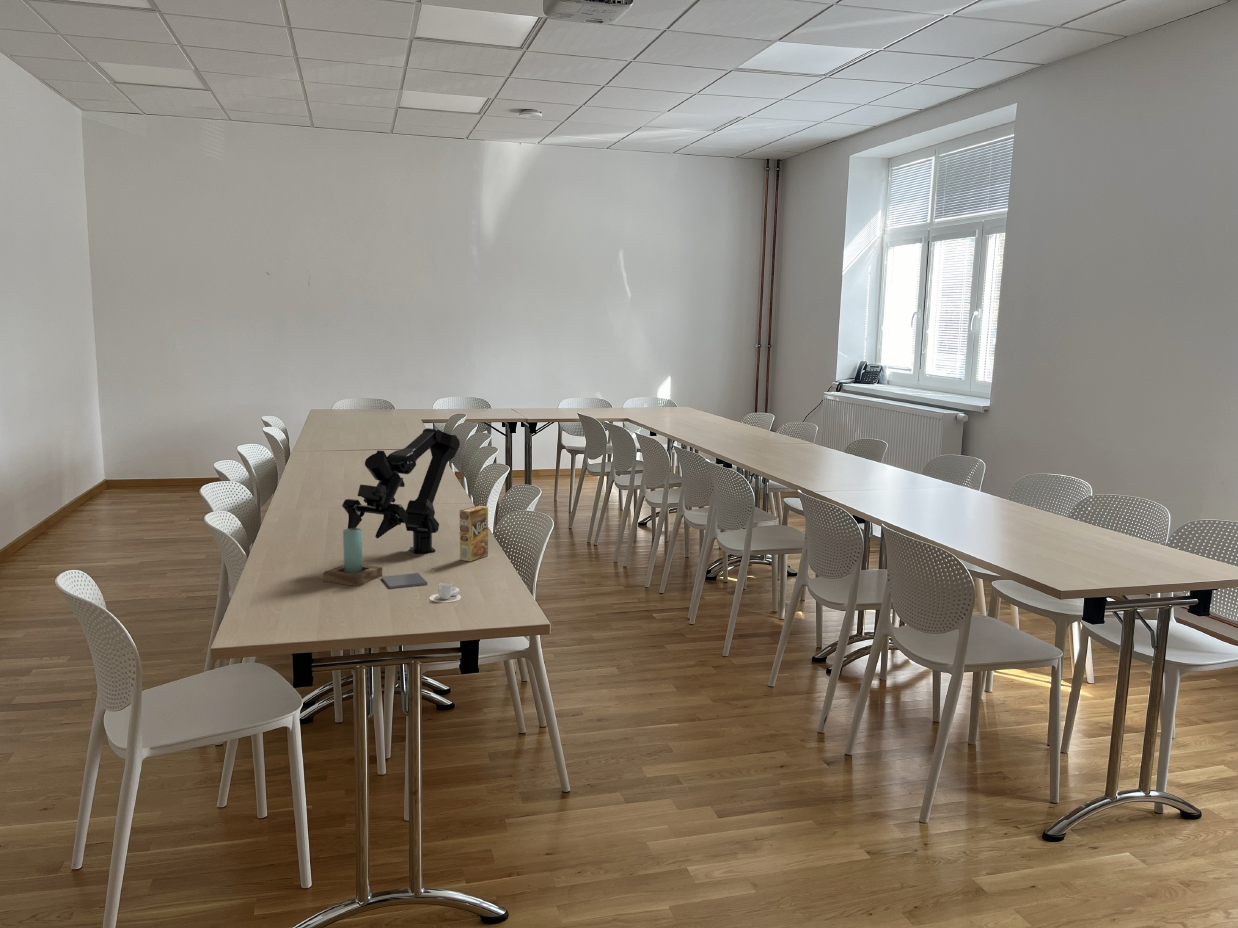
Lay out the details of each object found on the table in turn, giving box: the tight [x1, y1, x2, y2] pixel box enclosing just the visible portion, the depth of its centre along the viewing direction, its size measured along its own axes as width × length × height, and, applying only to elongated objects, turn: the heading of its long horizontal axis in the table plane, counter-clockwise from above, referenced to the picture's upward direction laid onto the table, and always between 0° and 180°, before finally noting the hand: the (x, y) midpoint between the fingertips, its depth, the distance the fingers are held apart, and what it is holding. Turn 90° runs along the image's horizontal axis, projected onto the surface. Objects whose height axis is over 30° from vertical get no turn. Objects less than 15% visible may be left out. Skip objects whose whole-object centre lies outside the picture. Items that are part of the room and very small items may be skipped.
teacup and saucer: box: [429, 582, 462, 604], centre depth 222 cm, size 9×8×4 cm
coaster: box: [381, 572, 428, 590], centre depth 235 cm, size 10×10×1 cm
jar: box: [342, 527, 363, 574], centre depth 236 cm, size 5×5×14 cm
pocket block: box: [322, 563, 383, 587], centre depth 236 cm, size 11×11×2 cm
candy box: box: [459, 505, 489, 562], centre depth 260 cm, size 9×4×15 cm, turn 150°
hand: (362, 535), depth 239 cm, fingers open, 9 cm apart
